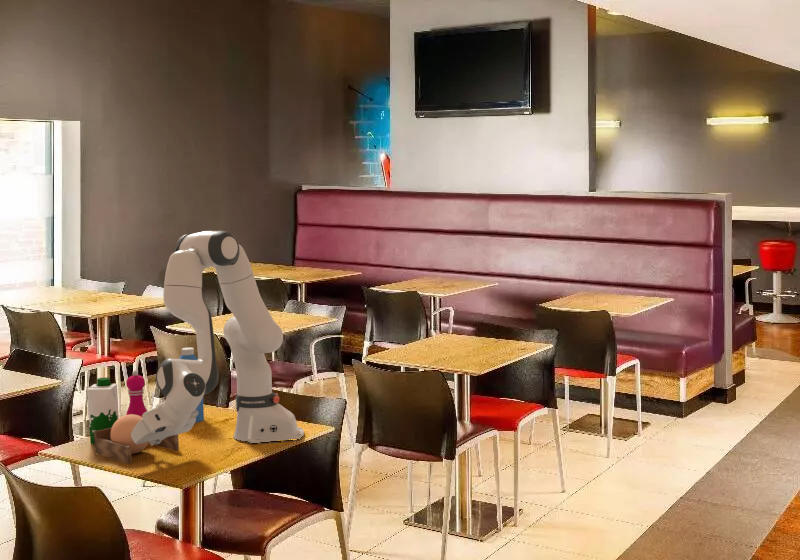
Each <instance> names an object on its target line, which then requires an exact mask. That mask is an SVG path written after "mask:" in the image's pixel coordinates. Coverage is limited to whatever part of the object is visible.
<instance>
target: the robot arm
mask: <svg viewBox="0 0 800 560" xmlns="http://www.w3.org/2000/svg"><path fill="white" fill-rule="evenodd" d="M174 245H175V246H174V250H173V251H174V252H173V253H171V254H170V256H169V258H168V261H167V266H166V268H165V269H166V270H165V275H164V281H163V283H164V284H163V303H164V306H165V308H166V309H167V310H168V312H169V313H170V314H171V315H173V316H174V317H176V318H178V319H179V320H182V321H183V322H185V323H186V324H188V325H189V326H191V327H192V329H193V330H194V332H195V336H196V337H195V338H196V347H197V359H198V360H184V359H179V358H165V360H163V361H162V362H161V363H160V365H159V366H158V368H157V370H156V374H155V381H156V386H157V387H158V389H159V391H160V393H161V395H162V396H163V397H165V400H164V401H163V402H162V403H160V404H159V405H157V406H156V407H154V408H152V409H150V410H147V412H145V413H144V414H143V415H142V417H143V419H141V420H140V421H139V422H138V423H137V425H136V426H135V427H134V429H133V431H132V432H131V437H132V439H133V441H134V443H135V444H141V443H145V442H149V443H150V444H149V445H150V446H156V445H155V444H159V443H160V442H161V441H162V440H164V439H165V438H166V437H169V436H173V435H177V434H178V435H181V434H184V433H187V432H189V431H190V430H192V428H193V427H194V425H195V424H196V423H195V421H196V418H195V417H196V416H197V415H198V414H199V412H198V411H196V410H195V409H196V408H197V407H198V405H199V404H200V402H201V400H202V398H203V399H204V395H208V394H210V393H211V392H212V391H213V390H215V388H216V387H217V386H218V384H219V381H220V373H219V367H218V365H217V359H216V358H217V357H216V347H215V335H214V325H213V319H212V317H213V316H212V313H211V311H210V309H209V308H208V307H207V306H206V304H205V303H204V299H203V292H202V291H203V290H202V289H203V273H204V270H205V269H206V268H211V267H213V268H214V269H215V272H216V276H217V280H218V284H219V287H220V290H221V294H222V296H223V297H222V298H223V300H224V303H225V305H226V308H227V309H228V310H229V311H230V312H231V313H232V314H233V316H232V317H230V318H228V319H227V321H226V322H225V324H224V326H223V336H224V339H225V340H226V342H227V343H228V345H229V347H230V350H231V353H232V354H231V355H232V358H233V362H234V366H235V373H236V390H237V391H236V392H237V393H236V395H235V410H236V413H237V415H236V425H235V429H234V434H233V439H235V440H236V439H237V441H240V440H241V441H240V442H245V441H248V442H250V443H249V444H251V443H258V444H260V443H259V442H269V441H278V440H289V439H290V440H291V439H299V438H301V437H302V436H303V435H305V432H304V429H303V428H302V427H300V426H298V424H297V419H296V416H295V414H294V413H293V412H291V411H290V410H288V409H287V408H285V407H284V406H283V405H282V404H280V403H279V402H280V396H279V394H278V393H277V392H276V393H275V392H274V391H273V384H272V383H273V382H272V369H271V366H270V364H269V363H268V360H267V359H266V356H265V354H270V353H275V352H276V351H278V349H280V347H281V346H282V343H283V341H284V333H283V330H282V328H281V326H280V325H279V324H278V323H277V322H276V321H275V319H274V318H273V317H272V315H271V313H270V312H269V310H268V308H267V307H266V304H265V302H264V301H263V298H262V296H261V294H260V292H259V288H258V285H257V282H256V278H255V277H256V276H255V274H254V271H253V269H252V265H251V263H250V260H249V258H248V256H247V253H246V251H245V249H244V247H242V245H241V244H239V242H238V239H237V238H236V236H235V235H234V234H233V233H231V232H229V231H225V230H202V231H200V232H195V233H194V232H192V233H191V232H190V233H186V234H183V235H182V236H180V237H179V238H178V239H177V241H176V243H175V244H174ZM303 437H304V436H303ZM303 437H302V438H303ZM302 438H301V439H302ZM299 440H300V439H299ZM248 442H247V443H248ZM269 443H270V442H269Z"/></svg>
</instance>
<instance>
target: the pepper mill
mask: <svg viewBox="0 0 800 560" xmlns="http://www.w3.org/2000/svg"><path fill="white" fill-rule="evenodd" d="M125 385H126V387H127V389H128V390H127V392H128V396H129V404H128V407H127V411H126V414H125V415H129V414H133V415H138V416H141V417H142V415H143V414H144V413H145V412H147V411H148V409H147V408H146V405H145V402H144V398H143V397H144V394H145V392H144V391H145V390H144V387H145V385H146V380H145V378H144V377H143V376H141V375H139V371H137V370H133V371H132V375H130V376H129V377H128V378H127V379H126V383H125ZM142 418H143V417H142Z"/></svg>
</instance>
